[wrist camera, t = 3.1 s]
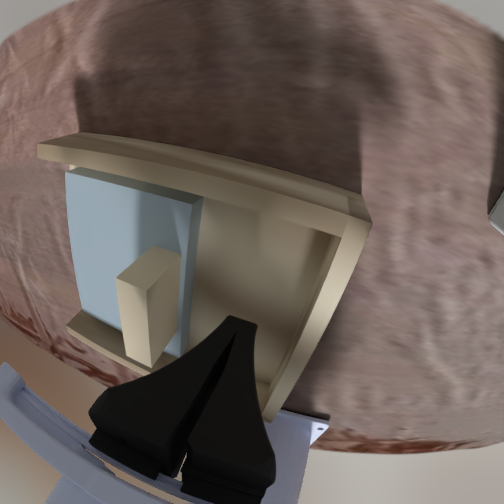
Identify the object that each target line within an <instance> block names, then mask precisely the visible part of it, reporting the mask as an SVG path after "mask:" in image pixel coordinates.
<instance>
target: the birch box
mask: <svg viewBox="0 0 504 504" xmlns="http://www.w3.org/2000/svg"><path fill="white" fill-rule="evenodd" d="M37 158H40V159H45V160H50V161H55V162H60V163H65V164H70V170H72V169H75V168H78V167H84V168H89V169H93V170H98V171H102V172H107V173H111V174H116V175H120V176H124V177H128V178H133V179H137V180H141V181H145V182H149V183H153V184H157V185H161V186H165V187H169V188H173V189H177V190H181V191H185V192H189V193H192V194H196V195H200V196H204V200H203V207H202V214H201V222H200V229H199V237H198V245H197V254H196V263H195V272H194V281H193V291H192V302H191V313H190V326H189V339H188V347H187V348H186V350H185V351H184V353H183V355H184V354H185V353H187V352H188V351H189V350H191V349H192V348H194V347H195V346H196V345H198V344H199V343H200V342H201V341H202V340H204V339H205V338H206V337H207V336H208V335H209V334H211V333H212V332H213V331H214V330H215V329H216V328H217V327H218V326H219V325H220V324H221V323H222V322H223V321H224V319H225V318H226V317H227V316H229V315H232V316H235V317H238V318H241V319H244V320H247V321H250V322H253V323H256V324H257V326H258V328H257V331H256V336H255V346H254V368H255V381H256V389H257V395H258V401H259V406H260V410H261V414H262V418H263V422H266V423H270V424H271V423H272V421H273V420H274V418H275V416H276V415H277V413H278V412H279V410H280V409H281V407H282V405H283V404H284V402H285V400H286V399H287V397H288V395H289V394H290V392H291V390H292V389H293V387H294V385H295V384H296V382H297V380H298V378H299V377H300V375H301V373H302V372H303V370H304V368H305V366H306V364H307V363H308V361H309V359H310V357H311V355H312V353H313V352H314V350H315V348H316V346H317V344H318V342H319V340H320V338H321V337H322V335H323V333H324V331H325V329H326V327H327V325H328V323H329V321H330V319H331V317H332V315H333V313H334V311H335V309H336V307H337V305H338V302H339V300H340V298H341V296H342V294H343V292H344V290H345V288H346V285H347V283H348V281H349V279H350V277H351V274H352V272H353V270H354V267H355V265H356V263H357V261H358V258H359V256H360V254H361V251H362V249H363V246H364V244H365V241H366V239H367V237H368V234H369V231H370V229H371V226H372V224H373V223H372V220H371V217H370V215H369V212H368V209H367V207H366V204H365V201H364V199H363V196H362V195H361V194H358V193H355V192H352V191H349V190H346V189H343V188H340V187H337V186H334V185H331V184H328V183H325V182H321V181H318V180H315V179H312V178H308V177H305V176H302V175H298V174H295V173H291V172H288V171H284V170H280V169H277V168H273V167H269V166H265V165H262V164H258V163H254V162H250V161H246V160H242V159H237V158H233V157H229V156H224V155H220V154H215V153H211V152H206V151H201V150H197V149H192V148H186V147H181V146H176V145H170V144H165V143H159V142H153V141H147V140H140V139H134V138H127V137H120V136H112V135H104V134H95V133H86V132H81V133H76V134H72V135H67V136H63V137H59V138H55V139H51V140H48V141H44V142H40V143H37ZM66 328H67V331H68V333H69V334H71V335H73V336H74V337H76V338H77V339H79V340H80V341H82V342H84V343H85V344H87V345H89V346H90V347H92V348H94V349H95V350H97V351H99V352H101V353H102V354H104V355H106V356H108V357H109V358H111V359H113V360H115V361H117V362H118V363H120V364H122V365H124V366H126V367H128V368H130V369H132V370H134V371H136V372H138V373H140V374H142V375H144V376H145V375H148V374H150V373H152V372H154V371H156V370H158V369H160V368H162V367H164V366H166V365H168V364H170V363H171V362H173V361H175V360H176V359H178V357H175V356H173V355H171V354H168V353H166V352H164V351H163V352H162V354H161V355H160V357H159V358H158V359H157V361H156V362H155V364H154V365H153V367H152V368H150V367H148V366H146V365H144V364H142V363H140V362H138V361H136V360H134V359H132V358H130V357H128V356H127V355H126V350H125V344H124V339H123V332H121V331H119V330H118V329H116V328H114V327H112V326H110V325H108V324H106V323H104V322H102V321H100V320H99V319H97V318H95V317H93V316H91V315H89V314H88V313H86V312H84V311H83V309H82V310H81V311H80V312H79V313H78V314H77V315H76V316H75V317H74V318H73V319H72V320H71V321H70V322H69V323H68V324H67V325H66Z"/></svg>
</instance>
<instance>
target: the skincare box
mask: <svg viewBox="0 0 504 504" xmlns="http://www.w3.org/2000/svg"><path fill="white" fill-rule="evenodd" d="M489 222H490V223H491V224H492V225H493V226H494V227H495V228H496V229H497V230H498V231H500V232H501V233H502V234H503V235H504V191H503V193H502V194H501V196H500V198H499V200H498V201H497V203H496V204H495V206H494V207H493V209H492V210H491V212H490V214H489Z"/></svg>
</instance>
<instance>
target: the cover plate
mask: <svg viewBox="0 0 504 504" xmlns="http://www.w3.org/2000/svg"><path fill="white" fill-rule="evenodd" d="M65 181H66V201H67V215H68V225H69V234H70V242H71V250H72V257H73V263H74V269H75V275H76V280H77V285H78V290H79V295H80V300H81V304H82V309H83V311H84V312H86V313H88V314H89V315H91V316H93V317H95V318H97V319H99V320H100V321H102V322H104V323H106V324H108V325H110V326H112V327H114V328H116V329H118V330H119V331H121V332H123V339H124V344H125V350H126V355H127V356H128V357H130V358H132V359H134V360H136V361H138V362H140V363H142V364H144V365H146V366H148V367H150V368H152V367H153V365H154V364H155V362H156V361H157V359H158V358H159V357H160V355H161V354H162V352H163V351H164V352H166V353H168V354H171V355H173V356H175V357H178V358H179V357H181V356H182V355H183V353H184V351H185V350H186V348H187V347H188V339H189V326H190V313H191V302H192V291H193V281H194V272H195V263H196V254H197V245H198V237H199V229H200V222H201V214H202V207H203V200H204V196H200V195H196V194H192V193H189V192H185V191H181V190H177V189H173V188H169V187H165V186H161V185H157V184H153V183H149V182H145V181H141V180H137V179H133V178H128V177H124V176H120V175H116V174H111V173H107V172H102V171H98V170H93V169H89V168H84V167H78V168H75V169H72V170H69V171H66V172H65Z"/></svg>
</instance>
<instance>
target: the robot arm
mask: <svg viewBox="0 0 504 504" xmlns="http://www.w3.org/2000/svg"><path fill="white" fill-rule="evenodd" d="M257 328H258V326H257V324H256V323H253V322H250V321H247V320H244V319H241V318H238V317H235V316H232V315H229V316H227V317H226V318H225V319H224V321H223V322H222V323H221V324H220V325H219V326H218V327H217V328H216V329H215V330H214V331H213V332H212V333H211V334H209V335H208V336H207V337H206V338H205V339H204V340H202V341H201V342H200V343H199V344H198V345H196V346H195V347H194V348H192V349H191V350H189V351H188V352H187V353H185V354H184V355H182V356H181V357H179V358H178V359H176V360H175V361H173V362H171V363H170V364H168V365H166V366H164V367H162V368H160V369H158V370H156V371H154V372H152V373H150V374H148V375H145V376H143V377H140V378H138V379H136V380H133V381H130V382H127V383H124V384H121V385H117V386H114V387H110V388H108V389H107V390H105V391H104V392H103V393H102V395H100V396H99V397H98V399H97V400H96V401H95V403H94V404H93V405H92V407H91V408H90V410H89V412H88V413H89V416H90V418H91V420H92V421H93V423H94V425H95V426H96V428H97V429H96V431H95V432H94V434H93V435H90V434H89V433H87V432H86V431H84V430H83V429H81V428H80V427H78V426H77V425H75V424H74V423H73V422H71V421H70V420H68V419H67V418H66V417H64V416H63V415H62V414H60V413H59V412H58V411H56V410H55V409H54V408H53V407H51V406H50V405H49V404H47V403H46V402H45V401H44V400H43V399H41V398H40V397H39V396H38V395H37V394H35V393H34V392H33V391H32V390H31V389H30V388H29V387H28V386H27V385H26V384H25V382H24V380H23V379H22V378H21V376H20V375H19V374H18V373H17V372H16V371H15V370H14V369H13V368H12V367H11V366H10V365H9V364H8V363H7V362H4V363H3V364H2V365H1V366H0V418H1V419H2V420H3V421H4V422H5V423H6V424H7V425H8V427H9V428H10V429H11V430H12V431H13V432H14V433H15V434H16V435H17V436H18V437H19V438H20V439H21V440H22V441H24V443H25V444H27V445H28V446H29V447H30V448H31V449H32V450H33V451H34V452H36V454H38V455H39V456H40V457H41V458H42V459H43V460H45V461H46V462H47V463H48V464H49V465H51V466H52V467H53V468H54V469H56V470H57V471H58V472H59V473H61V474H62V477H61V478H60V480H59V481H58V483H57V484H56V486H55V488H54V489H53V491H52V492H51V494H50V495H49V497H48V499H47V500H46V502H45V503H44V504H173V503H170V502H168V501H166V500H163V499H161V498H159V497H157V496H154V495H152V494H150V493H148V492H146V491H144V490H142V489H140V488H138V487H136V486H134V485H132V484H130V483H128V482H126V481H124V480H122V479H120V478H118V477H116V476H115V474H114V473H113V472H112V471H111V470H109V469H108V468H107V467H106V466H105V464H104V463H103V462H102V461H101V460H99V459H98V458H96V457H95V456H94V455H92V454H91V453H93V454H95V455H96V456H98V457H99V458H101V459H103V460H104V461H106V462H107V463H109V464H111V465H113V466H114V467H116V468H118V469H120V470H122V471H123V472H125V473H127V474H129V475H131V476H133V477H135V478H137V479H139V480H141V481H143V482H145V483H147V484H149V485H151V486H153V487H155V488H158V489H160V490H162V491H164V492H167V493H169V494H171V495H174V496H176V497H179V498H181V499H184V500H186V501H189V502H190V503H189V504H297V503H298V499H299V494H300V491H301V486H302V482H303V477H304V472H305V467H306V463H307V457H308V452H309V447H310V445H311V444H312V443H313V442H314V441H315V440H316V439H317V438H318V437H319V436H320V435H321V434H322V433H323V432H324V431H325V430H326V429H327V428H328V427H329V422H328V421H327V420H322V419H318V418H313V417H309V416H305V415H301V414H297V413H293V412H289V411H285V410H282V409H280V410H279V412H278V413H277V415H276V416H275V418H274V420H273V421H272V423H271V424H270V423H266V422H263V418H262V414H261V410H260V406H259V401H258V395H257V389H256V381H255V368H254V346H255V336H256V331H257ZM85 449H87V450H88V451H90V452H91V453H90V452H88V451H87V450H85ZM186 453H187V457H186V459H185V462H184V464H183V466H182V468H181V470H180V467H181V465H182V463H183V460H184V458H185V455H186ZM179 470H180V471H181V472H182V481H178V480H176V479H173V478H175V477H177V475H178V472H179Z"/></svg>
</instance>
